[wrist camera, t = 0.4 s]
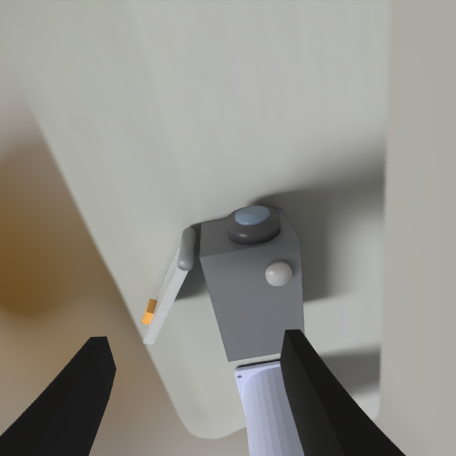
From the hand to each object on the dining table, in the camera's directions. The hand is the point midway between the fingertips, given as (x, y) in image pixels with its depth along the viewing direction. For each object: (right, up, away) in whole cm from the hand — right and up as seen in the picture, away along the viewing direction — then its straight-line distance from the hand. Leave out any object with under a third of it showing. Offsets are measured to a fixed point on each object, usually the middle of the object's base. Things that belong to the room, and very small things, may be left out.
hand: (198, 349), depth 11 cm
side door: (-3, +2, +10) cm, 11 cm away
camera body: (+3, +2, +11) cm, 11 cm away
